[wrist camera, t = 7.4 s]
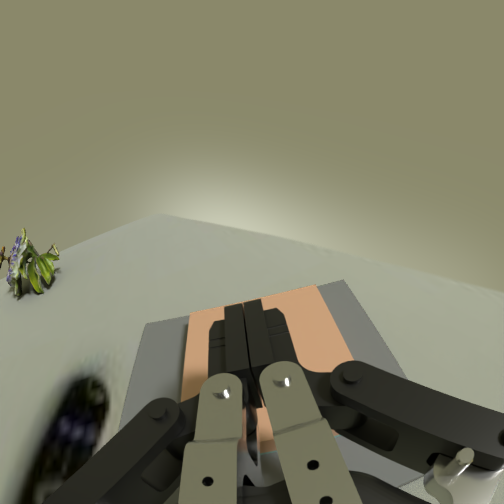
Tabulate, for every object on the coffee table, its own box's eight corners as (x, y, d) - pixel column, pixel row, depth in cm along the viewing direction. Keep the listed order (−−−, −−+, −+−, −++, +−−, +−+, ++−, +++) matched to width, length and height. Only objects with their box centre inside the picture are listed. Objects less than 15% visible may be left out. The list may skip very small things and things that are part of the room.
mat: (108, 519, 9) (104, 517, 9) (147, 327, 25) (146, 323, 25) (449, 462, 9) (452, 459, 9) (343, 283, 25) (343, 279, 25)
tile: (177, 450, 12) (190, 312, 23) (189, 462, 13) (196, 328, 23) (377, 409, 12) (315, 284, 23) (374, 424, 13) (317, 300, 23)
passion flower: (36, 319, 41) (-2, 272, 39) (73, 279, 48) (36, 236, 46) (24, 306, 32) (-18, 249, 30) (72, 257, 39) (29, 206, 37)
